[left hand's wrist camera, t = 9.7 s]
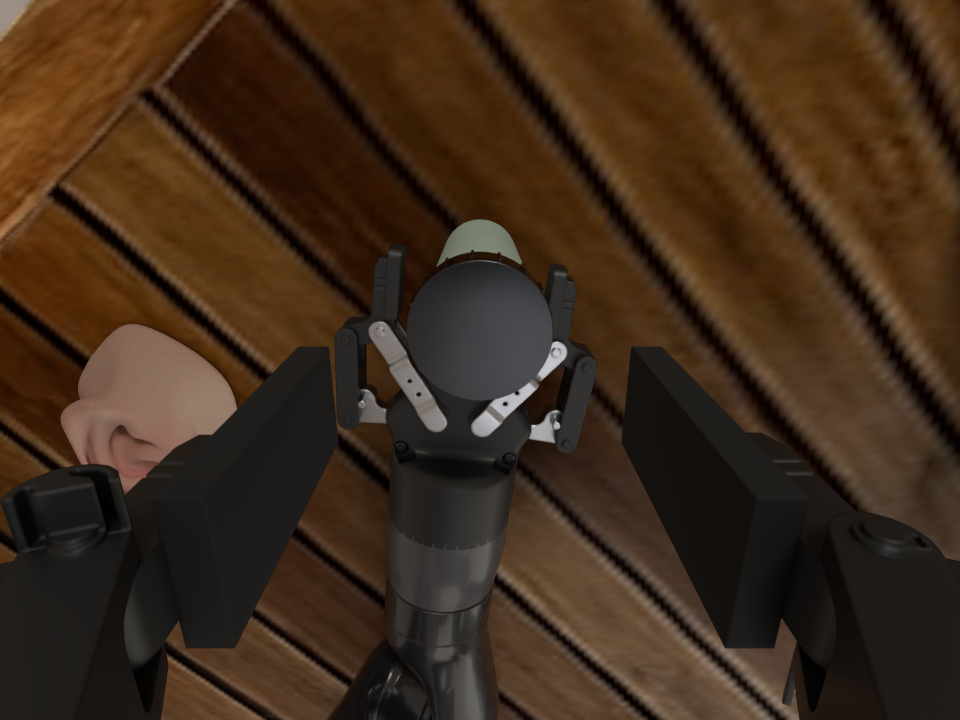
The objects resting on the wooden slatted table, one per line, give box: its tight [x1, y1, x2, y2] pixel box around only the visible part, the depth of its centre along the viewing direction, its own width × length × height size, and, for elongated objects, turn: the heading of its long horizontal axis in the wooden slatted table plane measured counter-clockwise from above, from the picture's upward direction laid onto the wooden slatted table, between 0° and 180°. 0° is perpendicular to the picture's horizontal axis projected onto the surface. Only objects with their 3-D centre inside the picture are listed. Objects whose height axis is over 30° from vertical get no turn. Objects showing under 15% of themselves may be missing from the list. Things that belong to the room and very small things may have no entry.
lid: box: [406, 250, 554, 401], centre depth 20 cm, size 5×5×2 cm
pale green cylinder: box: [436, 220, 522, 267], centre depth 27 cm, size 5×5×16 cm
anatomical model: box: [61, 324, 237, 495], centre depth 36 cm, size 13×4×12 cm
